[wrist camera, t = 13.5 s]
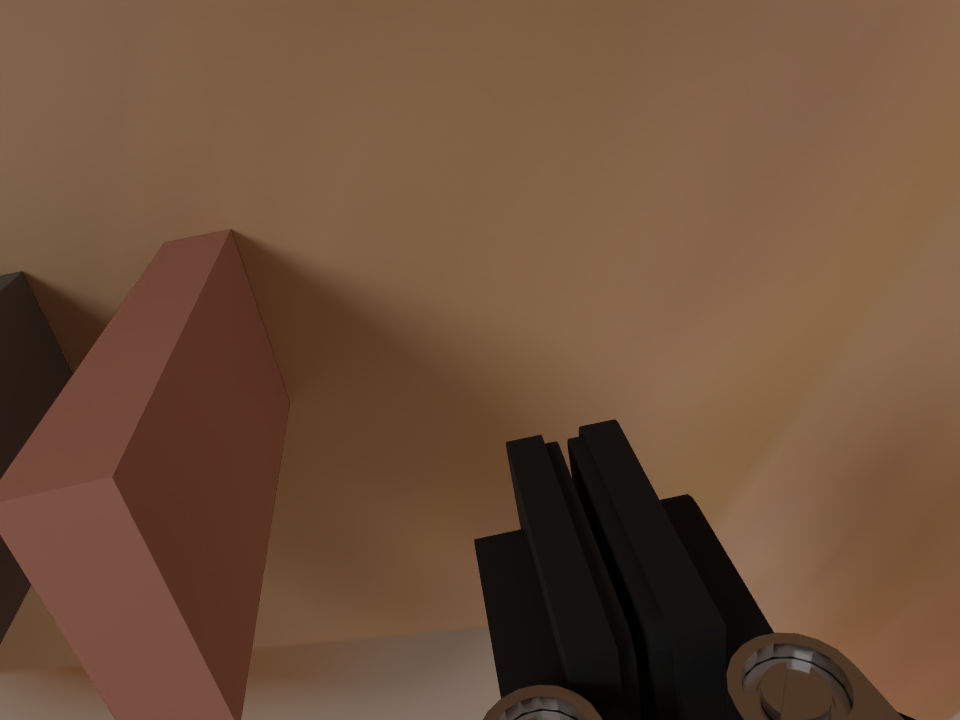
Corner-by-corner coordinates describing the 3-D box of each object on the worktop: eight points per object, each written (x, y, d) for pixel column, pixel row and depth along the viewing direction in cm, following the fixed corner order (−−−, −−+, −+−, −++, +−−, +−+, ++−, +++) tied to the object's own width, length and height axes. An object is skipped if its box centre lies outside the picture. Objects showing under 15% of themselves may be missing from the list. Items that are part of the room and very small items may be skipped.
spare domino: (231, 415, 20) (137, 754, 12) (164, 242, 18) (-18, 505, 9) (289, 402, 21) (239, 730, 12) (230, 228, 18) (111, 477, 9)
